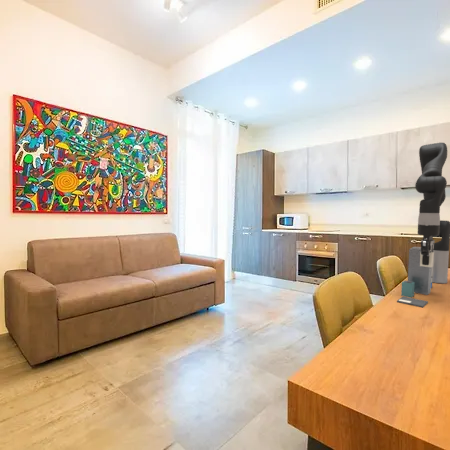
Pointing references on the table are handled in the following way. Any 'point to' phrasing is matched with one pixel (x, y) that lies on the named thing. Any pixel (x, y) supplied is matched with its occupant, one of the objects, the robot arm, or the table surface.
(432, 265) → the block
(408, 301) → the pad
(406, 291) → the block
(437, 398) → the table surface
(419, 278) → the unit
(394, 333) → the table surface
